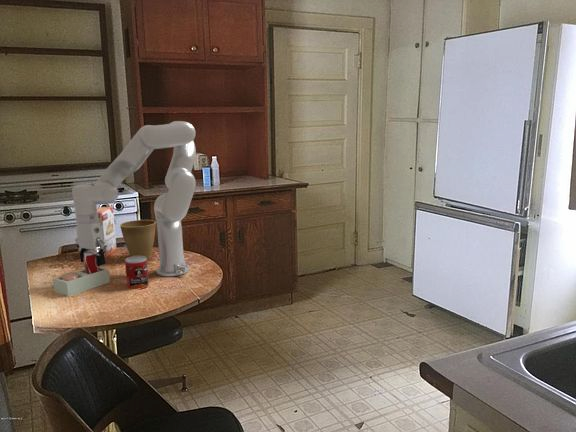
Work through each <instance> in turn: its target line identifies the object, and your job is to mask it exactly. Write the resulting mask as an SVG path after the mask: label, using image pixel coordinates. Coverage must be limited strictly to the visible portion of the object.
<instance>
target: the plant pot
mask: <svg viewBox="0 0 576 432" xmlns="http://www.w3.org/2000/svg"><path fill="white" fill-rule="evenodd" d="M119 226H120V231H121V234H122V238H123V240H124V244H125V246H126V248H127V249H126V250H127V251H128V253H129V255H130V256H129V257H131V256H137V255H141V256H145V257H146V258H147V260H149V259H150V258H151V255H152V251H153V247H154V243H155V238H156V237H155V236H156V228H157V223H156V220H152V219H139V220H130V221H125V222H122V223H120V224H119Z"/></svg>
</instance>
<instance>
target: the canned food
mask: <svg viewBox="0 0 576 432" xmlns="http://www.w3.org/2000/svg"><path fill="white" fill-rule="evenodd" d="M147 260H148V259H147V258H146V257H145V256H141V255H137V256H128V257H126V258H125V259H124V265H125V276H126V285H127V286H126V287H127V288H128V289H132V290H134V289H135V290H138V291H143V290H145V289H147V288H148V286H149V282H150V281H149V272H148V261H147Z"/></svg>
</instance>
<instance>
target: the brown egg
mask: <svg viewBox="0 0 576 432" xmlns="http://www.w3.org/2000/svg"><path fill="white" fill-rule="evenodd" d="M61 276H62V280H64V281H71V280H74V279H77V278H78V273H76V271H73V272H71V271H70V272H66V273H63V274H62V275H61Z"/></svg>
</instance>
